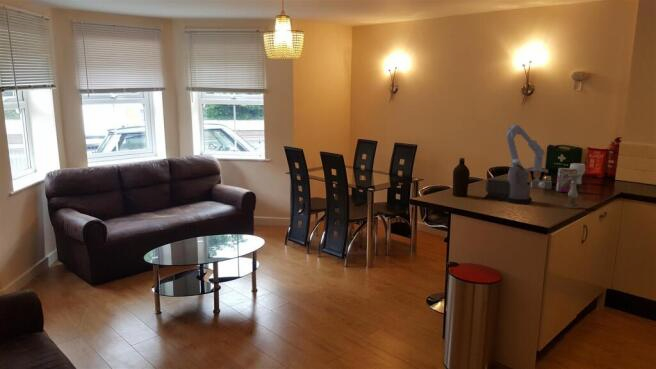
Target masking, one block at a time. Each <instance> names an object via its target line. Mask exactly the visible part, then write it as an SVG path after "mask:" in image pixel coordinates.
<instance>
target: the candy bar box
mask: <svg viewBox="0 0 656 369" xmlns="http://www.w3.org/2000/svg"><path fill="white" fill-rule="evenodd" d="M569 173H576V174H577V169H572V168H570V167H569V168H565V167H558V169H557V176H556V177H557V179H556V180H557V181H556V186H555V187H556V188H555V191H556V192H557V193H568V192H569V191H570V189H571V181H572V179H571V176H568V174H569Z"/></svg>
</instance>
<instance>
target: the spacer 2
mask: <svg viewBox="0 0 656 369" xmlns="http://www.w3.org/2000/svg"><path fill="white" fill-rule="evenodd" d="M543 181H551V182H552V176H550V175H544V176H543Z"/></svg>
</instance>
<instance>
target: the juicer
mask: <svg viewBox="0 0 656 369" xmlns="http://www.w3.org/2000/svg"><path fill="white" fill-rule="evenodd" d="M522 166H523V165H522ZM522 166H520V165H519V164H517V163H513V167H511V166H510V167H509V169H508V173H509V180H508V179H504V178H495V177H490V178H488V179H487V181H486V183H485V192H487V194H485V196H484V197H483V198H482V200H489V201H495V202H496V201H497V202H505V203H509V204H512V205H525V206H528V205H529V206H530V205H533V204H534V202H533V201H532V200H533V198H532V197H531V196H530V194H531V185H530V184H528V177H529V172H528V171H527V169H526V168H525V167H522Z"/></svg>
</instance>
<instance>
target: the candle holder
mask: <svg viewBox="0 0 656 369" xmlns="http://www.w3.org/2000/svg"><path fill="white" fill-rule="evenodd" d="M568 176H571V179H572V181H571V189H570V191H569V192H567V196H568V197H567V199H568V202H565V203H564V204H563V207H564V208H567V209H573V210H575V209H576V210H577V209H580V205H579V204H578V203H576V201H577V200H578V199H577V197H578V196H579V193H578V190H577V185H578V184H577V179H578V178H579V177H583V175H581V174H576V173H569V174H568Z"/></svg>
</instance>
